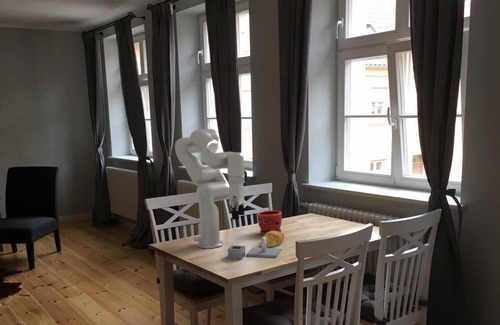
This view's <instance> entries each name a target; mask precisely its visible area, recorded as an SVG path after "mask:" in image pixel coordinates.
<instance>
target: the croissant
mask: <svg viewBox="0 0 500 325" xmlns="http://www.w3.org/2000/svg"><path fill="white" fill-rule="evenodd" d="M262 237H266V248H275V247H278V246H280V245H281V244H282V243H283V241H284V239H285V234H284V233H282V232H281V233H280V232H278V231H270V232H267V233H265V234H264V235H262ZM259 248H261V243H259Z"/></svg>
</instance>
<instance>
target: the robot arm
mask: <svg viewBox="0 0 500 325" xmlns="http://www.w3.org/2000/svg"><path fill="white" fill-rule="evenodd" d="M189 135H190V136H187V137H186V136H185V137H182V138H179V139H177V140H176V142H175V144H174V149H175V150H174V151H175V154H176V157H177V159H178V161H179V162H180V164H182V165H183V167H184V168H185V170H186V173H187V174H188V176H189V177H190V179H191V181H192V183H193V184H194V185H195V186H197V188H196V199H197V202H198V207H199V208H198V209H199V225H200V226H199V228H200V229H199V230H200V232H199V233H200V235H199V236H196V235H195V236H194V235H193V238H192V239H193V242H198V243H197V246H198V247H199V248H202V249H215V248H219V247H221V246H223V244H224V242H223V240H220V213H219V207H218V206H217V205H216V204H215V202H219V201H224V200H227V199H228V205H229V206H230V208H231V209H230V210H231V220H232V221H235V220H240V216H245V204H244V203H245V190H244V188H245V187H244V184H245V183H246V181H245V180H246V179H245V161H244V153H243V152H234V151H221V152H217V151H218V149H219V139H220V137H219V136H220V135H219V133H218V132H217V130H215V129H212V128H204V129H202V128H201V129H194V130H193V131H192V132H191V133H190V134H189ZM196 153H197V154H198V153H201V158H202V161H203V162H204V164H205V165H207V166H205V165H203V163H202V162H201V159H199V157H197V156H196V155H194V154H196ZM221 169H226V170H227V179H226V177H225V175H224V174H223V172H222V171H221Z"/></svg>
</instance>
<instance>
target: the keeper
mask: <svg viewBox="0 0 500 325" xmlns="http://www.w3.org/2000/svg"><path fill="white" fill-rule="evenodd" d="M260 238H261V239H260V240H261V241H260V244H261V247H253V246H252V247H251V249H250V250H248V251H247V253H245V257H251V258H253V257H256V258H272V259H273V258H278V256H279V254H280V253H281V251H282V248H275V247H268V248H266V237H263V236H261V237H260Z"/></svg>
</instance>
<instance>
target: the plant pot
mask: <svg viewBox="0 0 500 325" xmlns="http://www.w3.org/2000/svg"><path fill="white" fill-rule="evenodd" d="M282 214H283V213H282V211H280V210H279V211H278V210H265V211H259V212H257V214H256V215H257V223H258V226H259V229H260V230H259V233H260V234H261V235H262V236H264V234H265V233H267V232H270V231H278V232H280V233H282V230H281V227H282V219H283V218H282Z"/></svg>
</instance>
